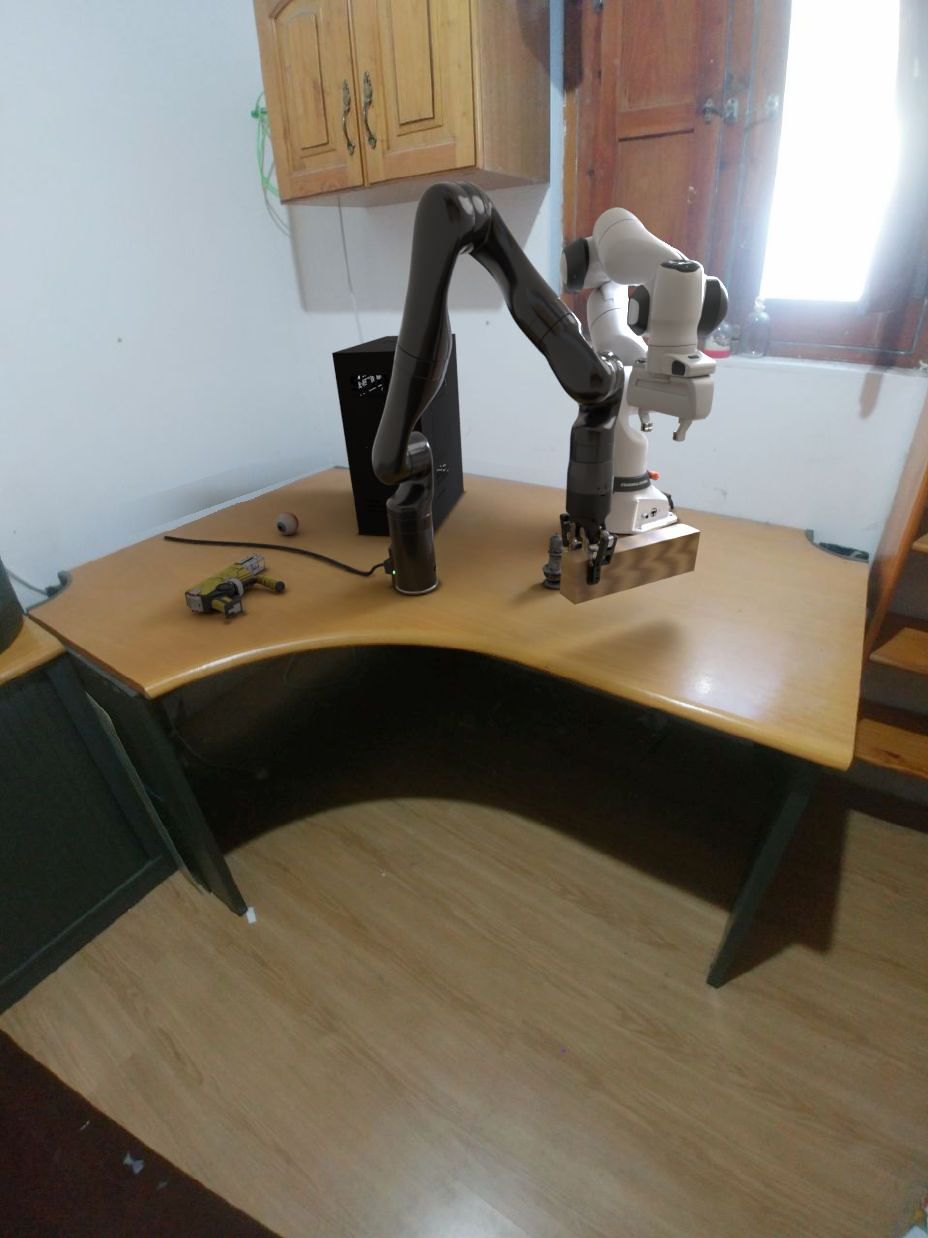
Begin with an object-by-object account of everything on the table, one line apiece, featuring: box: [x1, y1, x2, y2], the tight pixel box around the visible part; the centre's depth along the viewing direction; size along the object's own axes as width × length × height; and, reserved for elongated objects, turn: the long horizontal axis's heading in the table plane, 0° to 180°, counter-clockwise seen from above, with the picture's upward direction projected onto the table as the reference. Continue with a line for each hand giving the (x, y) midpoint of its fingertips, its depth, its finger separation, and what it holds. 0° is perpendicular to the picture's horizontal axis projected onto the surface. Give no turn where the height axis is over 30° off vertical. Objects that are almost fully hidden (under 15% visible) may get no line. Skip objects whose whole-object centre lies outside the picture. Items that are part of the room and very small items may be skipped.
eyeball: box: [275, 511, 300, 536], centre depth 163 cm, size 6×6×6 cm
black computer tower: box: [331, 333, 465, 536], centre depth 165 cm, size 38×20×45 cm, turn 167°
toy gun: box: [184, 552, 286, 620], centre depth 134 cm, size 5×24×15 cm
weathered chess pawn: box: [541, 530, 566, 589], centre depth 128 cm, size 6×6×12 cm
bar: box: [559, 523, 701, 605], centre depth 111 cm, size 27×5×8 cm, turn 115°
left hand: (584, 577), depth 107 cm, fingers closed on bar, 4 cm apart
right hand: (661, 435), depth 119 cm, fingers open, 8 cm apart
